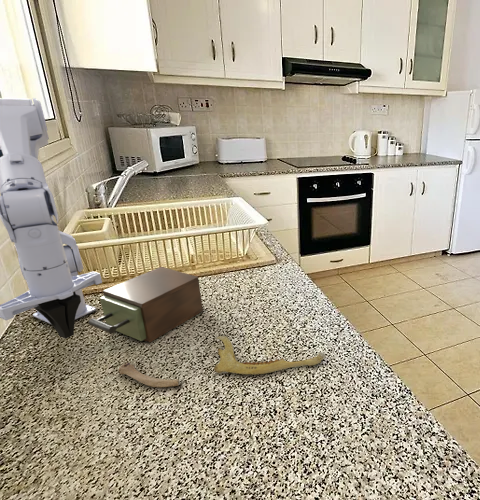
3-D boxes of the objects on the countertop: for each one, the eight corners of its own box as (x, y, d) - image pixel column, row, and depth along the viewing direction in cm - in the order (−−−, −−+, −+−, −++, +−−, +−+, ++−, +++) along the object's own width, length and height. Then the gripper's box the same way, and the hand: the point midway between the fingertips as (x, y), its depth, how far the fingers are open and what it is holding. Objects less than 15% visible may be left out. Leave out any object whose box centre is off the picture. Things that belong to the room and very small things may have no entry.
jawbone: (195, 374, 65) (193, 367, 65) (219, 341, 73) (218, 335, 72) (312, 394, 62) (312, 387, 61) (325, 358, 69) (325, 351, 69)
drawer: (121, 353, 68) (113, 321, 66) (86, 337, 72) (77, 307, 70) (192, 311, 82) (188, 284, 80) (159, 300, 86) (155, 274, 84)
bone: (171, 394, 60) (169, 383, 59) (117, 377, 63) (114, 367, 63) (182, 383, 62) (181, 373, 62) (129, 368, 66) (127, 358, 65)
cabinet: (149, 342, 73) (141, 304, 70) (111, 327, 77) (102, 290, 74) (203, 311, 84) (198, 276, 81) (167, 299, 89) (161, 266, 86)
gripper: (3, 287, 52) (31, 366, 57) (105, 253, 64) (121, 321, 69) (-22, 277, 55) (6, 353, 60) (80, 246, 67) (97, 311, 72)
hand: (66, 335), depth 65 cm, fingers closed
